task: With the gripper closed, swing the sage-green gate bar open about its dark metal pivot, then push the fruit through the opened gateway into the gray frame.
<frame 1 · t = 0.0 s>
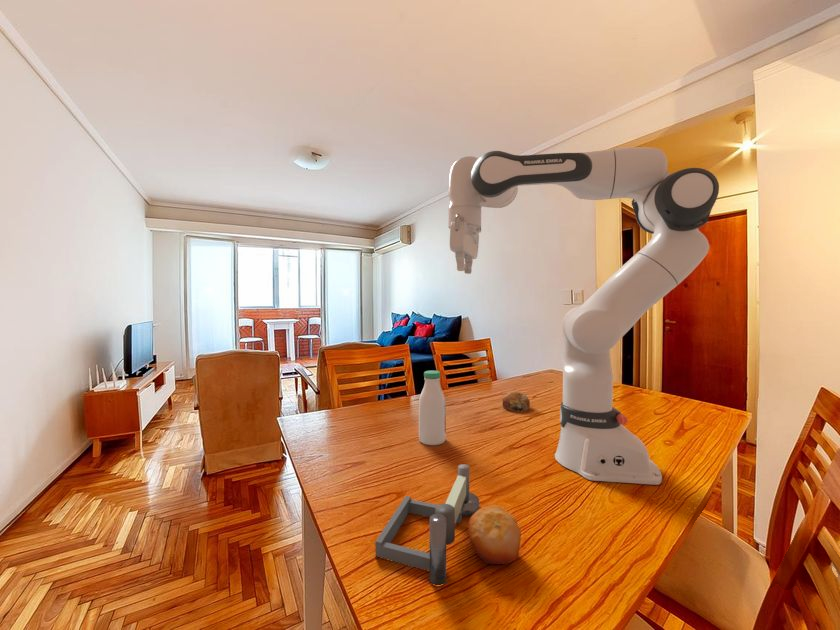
hand: (464, 272, 92), 48 cm above the table, tool pointing down, fingers open, 8 cm apart
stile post: (437, 579, 48), on the table
fruit: (493, 556, 53), on the table
gate: (455, 503, 58), point 5 cm above the table, hinge at 0.0°
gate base: (463, 507, 65), on the table
bread roll: (515, 409, 126), on the table
milk bottle: (432, 441, 97), on the table
gray frame: (421, 537, 57), on the table
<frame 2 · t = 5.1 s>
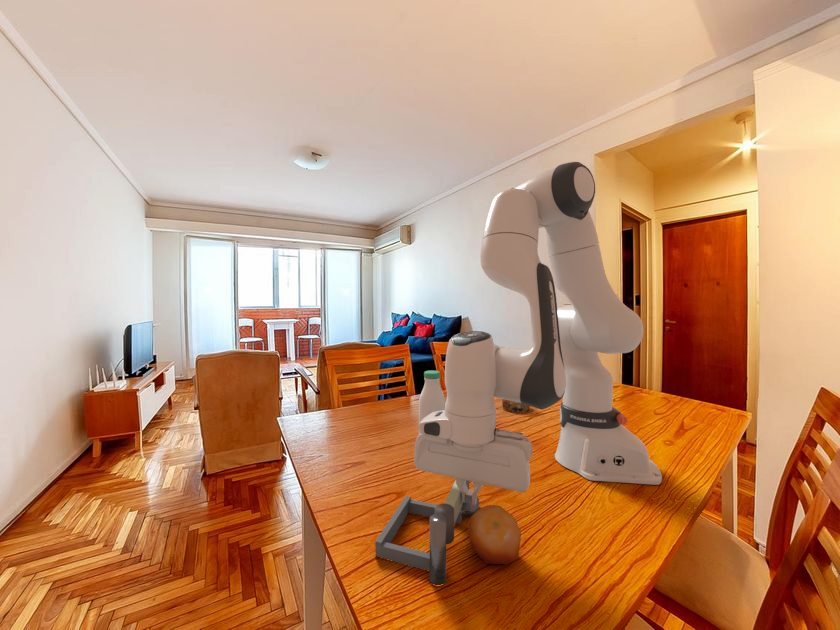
hand: (469, 502, 59), 5 cm above the table, tool pointing down, fingers closed
gate: (454, 503, 58), point 5 cm above the table, hinge at 0.5°, touching gripper
everything else where it was.
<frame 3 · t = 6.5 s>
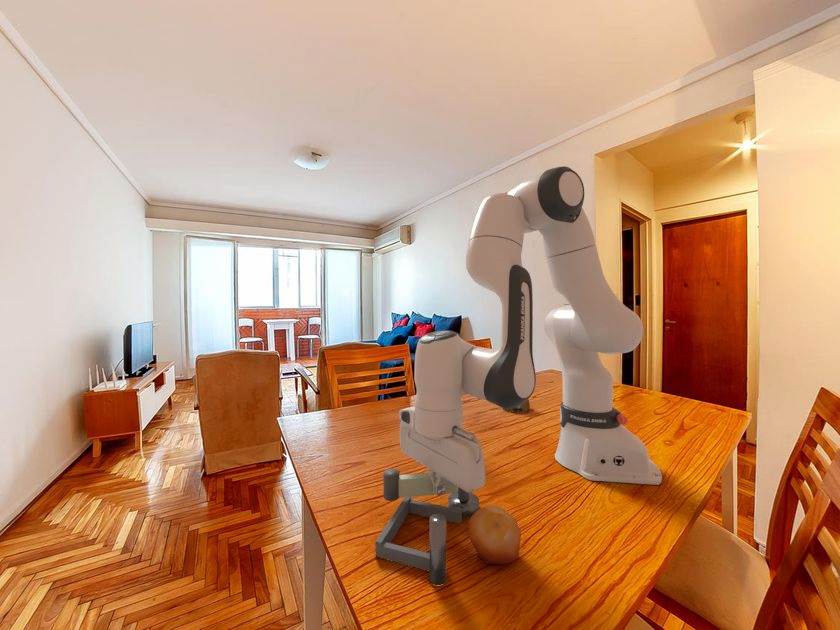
hand: (438, 492, 62), 5 cm above the table, tool pointing down, fingers closed
gate: (427, 485, 64), point 5 cm above the table, hinge at 62.4°, touching gripper
everything else where it was.
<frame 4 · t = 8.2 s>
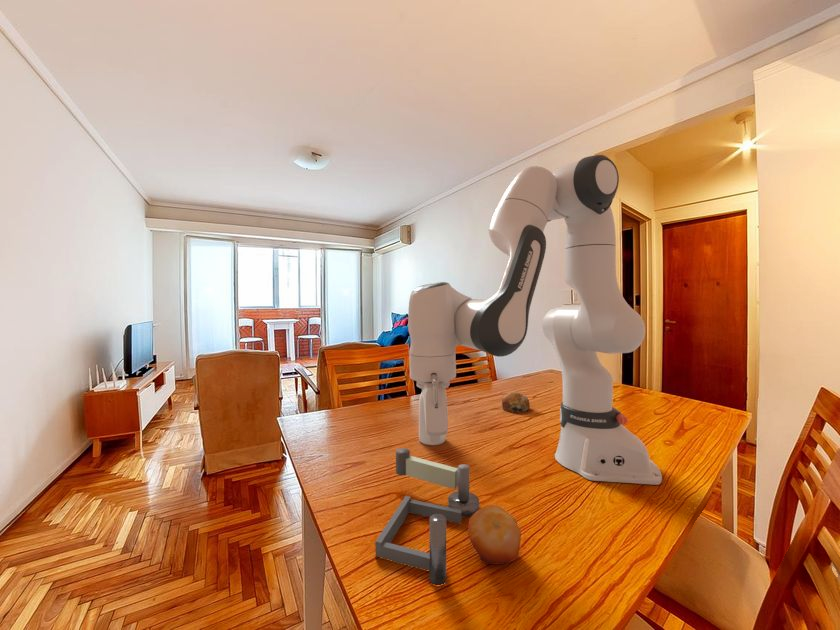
hand: (434, 439, 65), 14 cm above the table, tool pointing down, fingers closed
gate: (430, 473, 69), point 5 cm above the table, hinge at 100.3°
everything else where it was.
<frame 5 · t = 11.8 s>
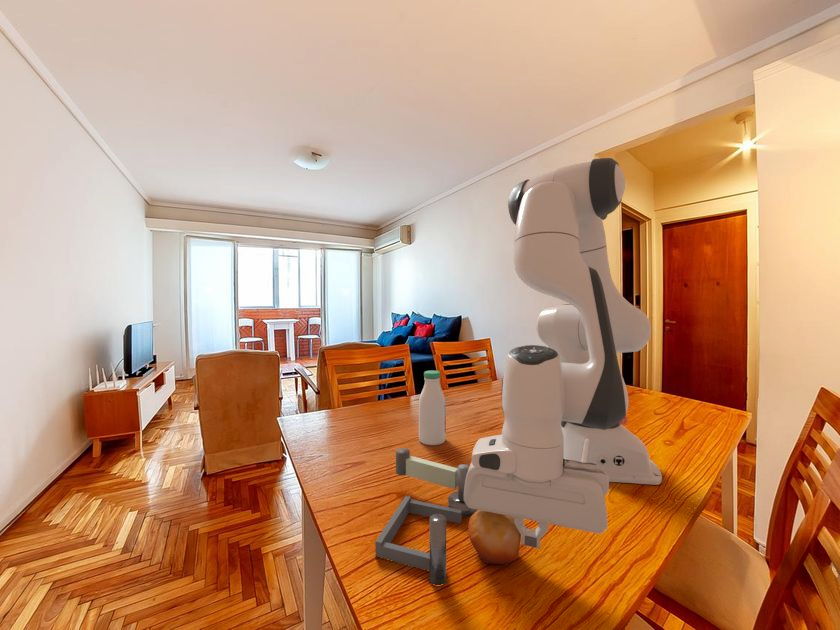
hand: (530, 544, 51), 3 cm above the table, tool pointing down, fingers closed
fruit: (493, 556, 53), on the table, touching gripper
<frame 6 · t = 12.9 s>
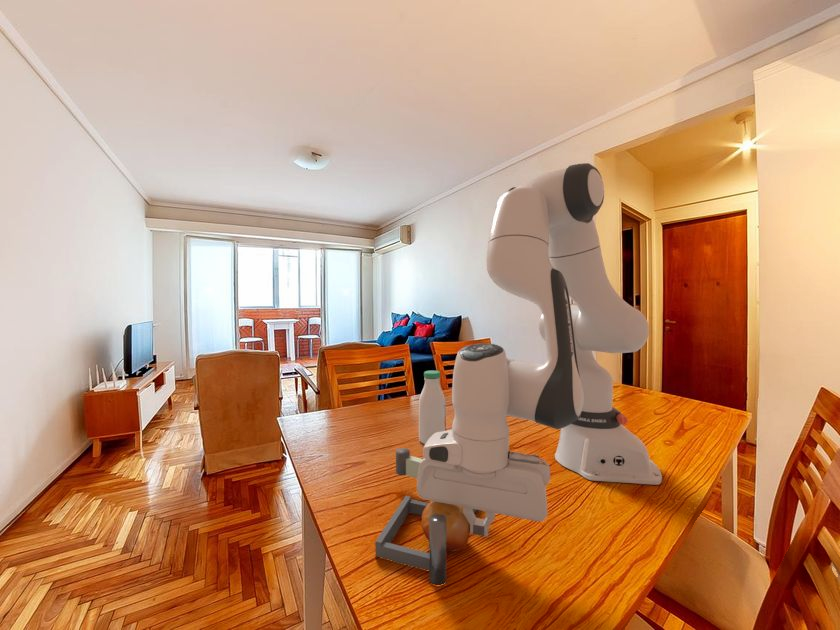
hand: (479, 532, 54), 3 cm above the table, tool pointing down, fingers closed
fruit: (445, 544, 56), on the table, touching gripper
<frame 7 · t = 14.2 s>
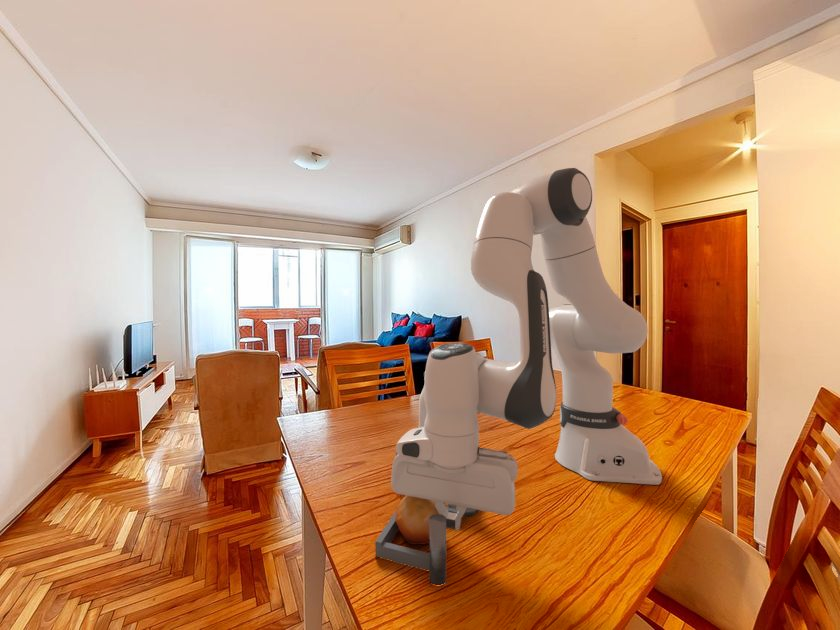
hand: (451, 526, 55), 3 cm above the table, tool pointing down, fingers closed
fruit: (419, 537, 57), on the table, touching gripper
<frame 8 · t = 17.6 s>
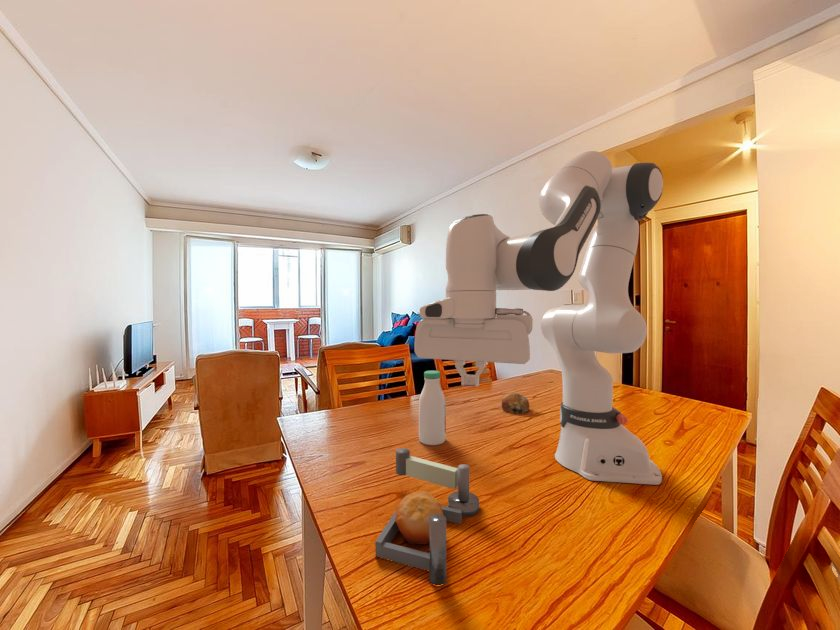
hand: (470, 385, 60), 25 cm above the table, tool pointing down, fingers closed
fruit: (419, 537, 57), on the table
at the end: fruit inside the target area (0.2 cm from its centre), on the table; gate at +100° (first picture: +0°); fruit moved 12.5 cm from its start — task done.
